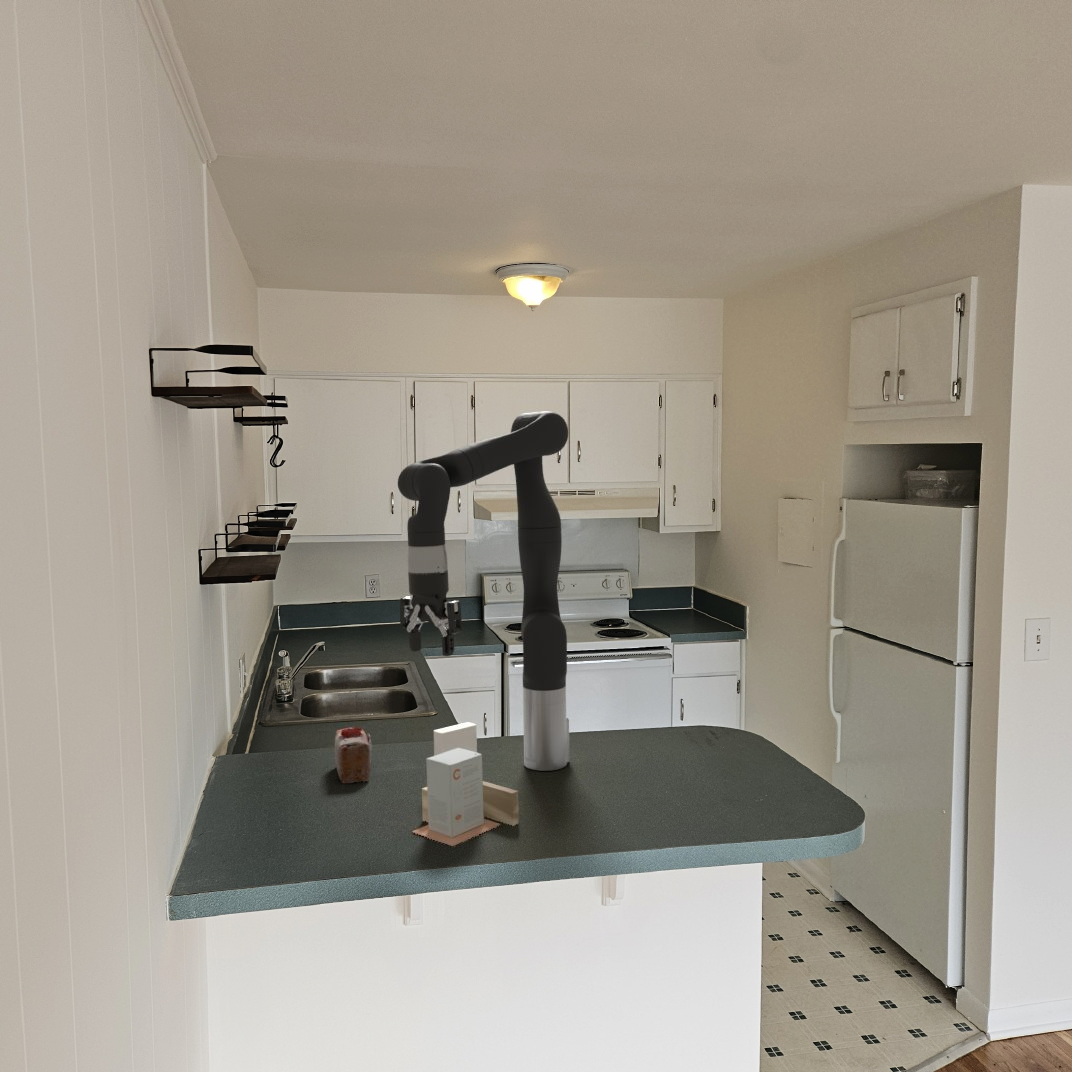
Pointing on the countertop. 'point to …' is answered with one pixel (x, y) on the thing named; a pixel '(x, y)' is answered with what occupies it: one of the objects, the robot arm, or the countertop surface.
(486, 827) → the mat
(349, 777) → the food item
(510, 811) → the wall back
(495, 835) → the countertop surface
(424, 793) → the wall side
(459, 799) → the small box
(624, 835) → the countertop surface
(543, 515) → the robot arm
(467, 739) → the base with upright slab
